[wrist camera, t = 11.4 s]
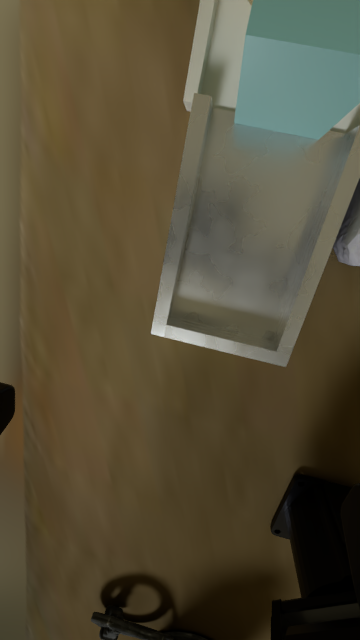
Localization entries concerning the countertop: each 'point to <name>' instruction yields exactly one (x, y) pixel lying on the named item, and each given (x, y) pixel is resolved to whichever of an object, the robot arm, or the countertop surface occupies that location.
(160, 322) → the channel
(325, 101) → the mint green brick
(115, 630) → the milk frother
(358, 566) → the robot arm
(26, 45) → the countertop surface
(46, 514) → the countertop surface
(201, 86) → the chip tray
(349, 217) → the stone block
